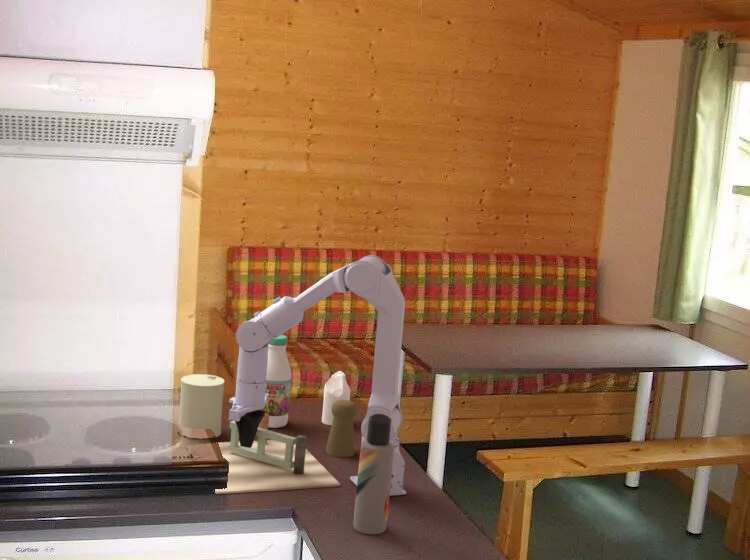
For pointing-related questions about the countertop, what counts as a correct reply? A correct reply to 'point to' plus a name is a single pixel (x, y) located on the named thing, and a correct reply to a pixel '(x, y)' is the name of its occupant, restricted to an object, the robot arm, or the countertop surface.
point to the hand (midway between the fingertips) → (246, 446)
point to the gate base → (274, 468)
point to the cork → (342, 429)
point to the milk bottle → (278, 383)
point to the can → (201, 402)
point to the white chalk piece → (334, 395)
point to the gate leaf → (260, 451)
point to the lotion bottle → (374, 477)
